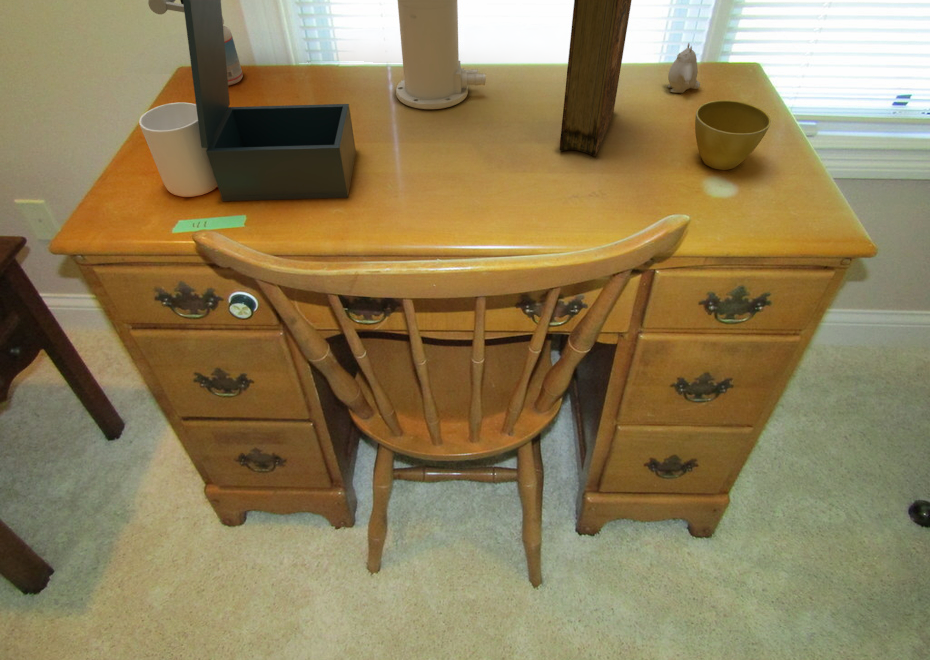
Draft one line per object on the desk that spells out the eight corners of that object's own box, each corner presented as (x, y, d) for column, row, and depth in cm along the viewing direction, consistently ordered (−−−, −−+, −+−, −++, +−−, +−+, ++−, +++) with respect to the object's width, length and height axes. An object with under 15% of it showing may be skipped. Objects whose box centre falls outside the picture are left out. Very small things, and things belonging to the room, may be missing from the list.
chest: (356, 151, 98) (348, 103, 92) (348, 197, 89) (339, 147, 83) (242, 155, 98) (227, 106, 92) (222, 201, 89) (205, 151, 83)
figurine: (660, 80, 114) (669, 35, 108) (693, 79, 114) (704, 34, 108) (670, 100, 108) (681, 54, 103) (705, 99, 108) (717, 53, 103)
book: (582, 106, 107) (603, -62, 89) (614, 111, 106) (642, -59, 88) (558, 154, 96) (576, -27, 79) (594, 160, 95) (621, -23, 77)
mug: (180, 156, 97) (156, 91, 90) (234, 153, 98) (214, 88, 90) (159, 200, 89) (130, 132, 82) (218, 197, 89) (195, 129, 82)
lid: (217, -35, 79) (169, -44, 78) (190, 0, 70) (134, -10, 69) (229, 104, 92) (187, 98, 91) (207, 148, 83) (161, 142, 82)
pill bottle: (248, 73, 118) (231, 9, 110) (236, 87, 114) (218, 22, 106) (217, 72, 119) (198, 9, 111) (204, 86, 115) (184, 21, 107)
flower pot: (692, 179, 91) (704, 133, 86) (678, 143, 98) (689, 99, 93) (763, 180, 91) (780, 134, 85) (744, 144, 98) (759, 100, 92)
